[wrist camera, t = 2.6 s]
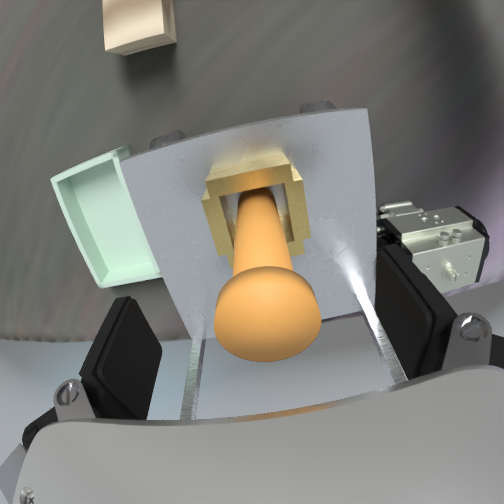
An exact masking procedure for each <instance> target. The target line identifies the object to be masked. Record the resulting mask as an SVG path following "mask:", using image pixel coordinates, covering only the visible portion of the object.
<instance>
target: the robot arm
mask: <svg viewBox="0 0 504 504" xmlns="http://www.w3.org/2000/svg"><path fill="white" fill-rule="evenodd" d="M375 311H376V315H377V317H378V319H379V321H380V323H381V325H382V327H383V329H384V331H385V333H386V335H387V337H388V338H389V341H390V343H391V345H392V347H393V349H394V351H395V353H396V355H397V357H398V359H399V361H400V363H401V366H402V368H403V370H404V372H405V374H406V376H407V378H408V381H405V382H402V383H398V384H395V385H392V386H389V387H385V388H382V389H378V390H374V391H371V392H368V393H364V394H360V395H356V396H352V397H348V398H344V399H340V400H336V401H331V402H327V403H322V404H317V405H312V406H307V407H301V408H296V409H290V410H284V411H278V412H271V413H264V414H256V415H247V416H238V417H228V418H214V419H196V420H146V419H147V416H148V411H149V406H150V402H151V398H152V393H153V389H154V385H155V380H156V376H157V372H158V368H159V364H160V360H161V356H162V347H161V345H160V343H159V341H158V340H157V338H156V336H155V335H154V333H153V331H152V329H151V327H150V326H149V324H148V322H147V320H146V318H145V316H144V315H143V313H142V311H141V309H140V307H139V305H138V303H137V302H136V300H135V299H132V298H131V297H130V296H126V297H120V298H116V299H115V301H114V302H113V304H112V306H111V308H110V310H109V312H108V314H107V316H106V318H105V320H104V322H103V324H102V326H101V328H100V330H99V332H98V334H97V336H96V338H95V340H94V342H93V344H92V346H91V348H90V350H89V352H88V355H87V357H86V359H85V361H84V363H83V365H82V368H81V370H80V372H79V375H80V376H81V377H82V379H81V382H80V381H79V380H77V379H70V380H67V381H65V382H64V383H62V384H61V385H60V386H59V387H58V388H57V390H56V392H55V394H54V407H53V408H52V409H50V410H49V411H47V412H46V413H45V414H43V415H42V416H40V417H39V418H37V419H36V420H35V421H33V422H32V423H30V424H29V425H28V426H27V427H26V428H25V430H24V433H23V437H22V442H23V445H22V444H19V445H18V446H17V447H16V449H15V450H14V451H13V452H12V453H11V454H10V456H9V457H8V458H7V459H6V460H5V462H4V463H3V464H2V465H1V466H0V488H1V490H2V492H3V494H4V496H5V497H6V499H7V501H8V503H9V504H504V337H500V336H497V335H494V334H492V329H491V326H490V323H489V322H488V321H487V320H486V319H485V318H484V317H482V316H481V315H479V314H476V313H463V314H461V315H459V316H458V315H457V314H456V313H455V311H454V310H453V309H452V307H451V306H450V305H449V304H448V302H447V301H446V300H445V298H444V297H443V296H442V295H441V293H440V292H439V291H438V290H437V288H436V287H435V286H434V285H433V283H432V282H431V281H430V280H429V279H428V277H427V276H426V275H425V274H424V273H422V272H421V271H420V270H419V269H418V267H417V266H416V265H415V264H414V263H413V262H412V260H411V259H410V258H409V257H408V256H407V255H406V254H405V252H404V251H403V250H402V249H401V248H400V247H399V246H398V245H397V244H391V245H387V246H382V247H381V251H378V252H377V274H376V298H375Z"/></svg>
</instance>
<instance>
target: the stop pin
mask: <svg viewBox="0 0 504 504" xmlns="http://www.w3.org/2000/svg"><path fill="white" fill-rule="evenodd" d="M320 327H321V314H320V311H319V307H318V304H317V301H316V297H315V294H314V291H313V289H312V287H311V285H310V284H309V283H308V282H307V280H306V279H304V278H303V277H302V276H301V275H299V274H298V273H296V272H294V270H293V266H292V262H291V258H290V254H289V251H288V247H287V243H286V239H285V235H284V231H283V227H282V223H281V220H280V216H279V212H278V208H277V205H276V201H275V198H274V195H273V194H272V192H271V191H270V190H268V189H267V188H265V187H261V188H256V189H251V190H247V191H243V192H242V193H241V195H240V197H239V199H238V208H237V222H236V236H235V250H234V265H233V277H232V278H231V279H230V280H228V281H227V282H226V283H225V285H224V286H223V287H222V289H221V290H220V292H219V294H218V297H217V301H216V309H215V317H214V332H215V335H216V338H217V339H218V341H219V343H220V344H221V345H222V346H223V347H224V348H225V349H226V350H227V351H229V352H230V353H232V354H233V355H235V356H237V357H240V358H243V359H246V360H250V361H256V362H273V361H279V360H283V359H287V358H290V357H292V356H294V355H296V354H298V353H300V352H301V351H303V350H305V349H306V348H307V347H308V346H309V345H310V344H311V343H312V342H313V341H314V340H315V338H316V337H317V335H318V333H319V331H320Z"/></svg>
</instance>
